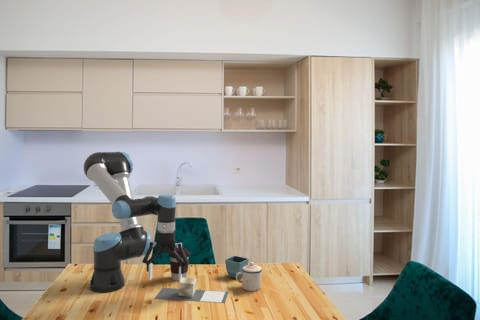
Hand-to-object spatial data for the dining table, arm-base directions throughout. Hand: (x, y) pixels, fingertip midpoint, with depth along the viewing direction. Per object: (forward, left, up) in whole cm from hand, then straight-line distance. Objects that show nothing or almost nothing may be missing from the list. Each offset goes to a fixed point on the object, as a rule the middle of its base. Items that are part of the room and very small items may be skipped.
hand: (165, 280), depth 167 cm
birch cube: (+10, 0, -6) cm, 11 cm away
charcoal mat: (+12, 0, -7) cm, 14 cm away
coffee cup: (+1, +19, -7) cm, 20 cm away
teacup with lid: (+35, +14, -7) cm, 38 cm away
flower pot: (+28, +27, -7) cm, 40 cm away
